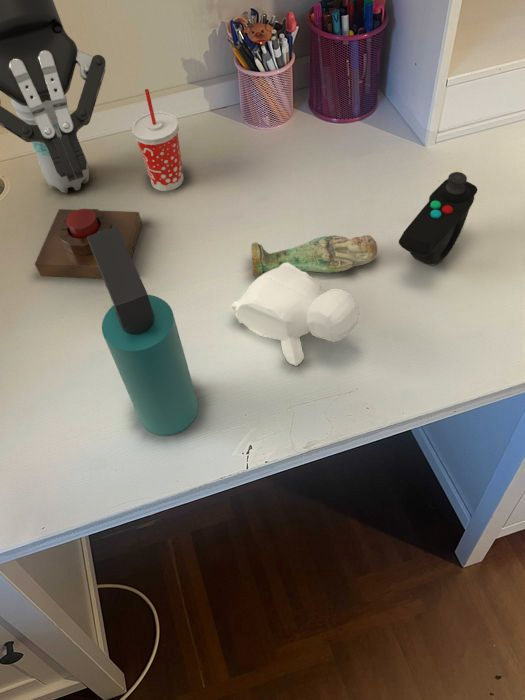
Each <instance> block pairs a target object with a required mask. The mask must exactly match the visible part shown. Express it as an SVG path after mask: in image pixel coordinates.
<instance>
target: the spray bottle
mask: <svg viewBox="0 0 525 700" xmlns="http://www.w3.org/2000/svg"><path fill="white" fill-rule="evenodd" d="M87 239H88V242H89V244H90V247H91V250H92V252H93V255H94V257H95V260H96V262H97V265H98V267H99V270H100V272H101V275H102V277H103V282H104V284H105V287H106V289H107V292H108V294H109V296H110V299H111V301H112V304H113V305H111V307H110V308H109V309H108V310H107V311H106V313H105V315H104V317H103V319H102V322H101V332H102V336H103V338H104V340H105V342H106V345H107V348H108V349H109V351H110V355H111V356H112V359H113V361H114V364H115V366H116V368H117V370H118V374H119V375H120V378H121V380H122V382H123V384H124V387H125V390H126V392H127V394H128V396H129V398H130V399H129V400H130V401H131V403H132V405H133V408H134V410H135V413H136V415H137V417H138V419H139V421H140V424H141V425H142V427H143V428H144V429H145V430H146V431H148V432H150V433H151V434H154V435H157V436H173V435H176V434H179V433H181V432H183V431H185V430H186V429H187V428H188V427H190V426H191V424H192V423H194V421H195V419H196V417H197V415H198V411H199V403H198V397H197V395H196V390H195V387H194V384H193V380H192V377H191V373H190V370H189V365H188V362H187V358H186V355H185V351H184V348H183V344H182V341H181V337H180V332H179V330H178V325H177V322H176V319H175V316H174V315H175V314H174V311H173V309H172V308H171V305H170V304H169V303H168V302H167V301H165V300H164V299H163V298H160V297H158V296H156V295H153V294H148V292H147V289H146V288H145V284H144V283H143V281H142V279H141V276H140V274H139V271H138V270H137V268H136V265H135V263H134V260H133V259H132V257H131V256H130V254H129V252H128V250H127V248H126V245H125V243H124V241H123V239H122V237H121V234H120V232H119V230H118V228H117V227H113V228H110V229H107V230H100V231H98V232H97V233H96V234H93V235H90V236H87Z"/></svg>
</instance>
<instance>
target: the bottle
mask: <svg viewBox="0 0 525 700" xmlns="http://www.w3.org/2000/svg"><path fill="white" fill-rule="evenodd" d="M64 96H65V99H66V102H67V103H68V99H67V95H66V94H65V95H64ZM10 103H11V105H12V107H13V108H14V109H15V113H16V116H17V117H18V118H20V119H21V120H23V121H24V122H26V123H28V124H29V125H37V124H36V122H35V119H34V117H33V115H32V113H31V111H30V109H29V107H28V106H23V105H21V104H19V103H17V102H16V101H14V100H13V99H12V98H10ZM43 106H44V108H45V110H46V112H47V114H48V116H49V119H50V121H51V123H52V125H53V127H54V129H55V132H56V134H57V137H60V139H61V136H62V135H61V132H60V129H59V124H58V120H57V117H56V114H55V111H54V108H53V104H52V101H51V100H49V101H44V102H43ZM61 141H62V140H61ZM30 143H31V145H32V147H33V149H34V152H35V154H36V158H37V161H38V163H39V167H40V170H41V173H42V175H43V177H44V179H45V181H46V183H47V185H48V186H49V187H50V188H51V189H52V190H59V192H60V193H63V194H67V193H68V192H69V188H73V189H74V190H75V191H79V190H81V187H82V184H83V185H85V184H87V183H88V181H89V180H90V168H89V163H88V160H87V157H86V155H85V153H84V150H83V148H82V147H81V149H82V151H83V154H84V156H85V159H86V163H87V169H86V170H83V171H82V173H83V176H84V177H83V178H80V179H76V180H74V181H70V182H69V181H68V178H67V176H64V177H61V176H60V175H59V174H58V173H57V171H56V169H55V166H54V164H53V161H52V159H51V156H50V154H49V151H48V148H47V146H46V145H45V144H44V143H42V142H30ZM62 144H63V143H62ZM63 147H64V146H63ZM64 149H65V148H64ZM65 152H66V151H65ZM66 154H67V153H66ZM67 157H68V156H67ZM68 159H69V158H68ZM69 162H70V161H69ZM71 167H72V166H71ZM72 170H73V169H72ZM73 172H74V171H73ZM74 175H75V174H74ZM75 177H76V176H75Z"/></svg>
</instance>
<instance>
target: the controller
mask: <svg viewBox="0 0 525 700" xmlns="http://www.w3.org/2000/svg"><path fill="white" fill-rule="evenodd" d="M467 180H468V177H467V175H466V174H465V173H463V172H461V171H454V172H451V173H450V174H449V175H448V177H447V178H446V179H445V180H444V181H443V182H442V183H441V184H440V185H438V186H437V188H436V189H435V190H433V191H432V192H431V194H430V195H429V198H428V201H427V203H426V204H425V205H424V207H423V208H422V209H420V212H419V213H418V214H417V215H416V216H415V217H414V219H413V220H412V221H411V223H409V225H408V226H407V227H406V228H405V230H404V231H403V232H402V234H401V235H400V238H399V239H398V245H399V246H400V247H401V248H402V249H404V250H406V251H407V252H409V253H410V255H411V256H412V258H413V259H415V260H416V261H418V262H420V263H422V264H425V265H427V266H437V265H438V264H440V263H441V262H442V261H443V260H445V259H446V257H447V256H448V255H449V253H450V252H451V250H452V249H453V247H454V246H455V244H456V243H457V241H458V238H459V236H460V235H461V232H462V231H463V228H464V225H465V223H466V220H467V217H468V214H469V212H470V210H471V207H472V205H473V203H474V202H475V201H474V200H475V196H476V194H477V193H478V187H477V186H476V185H475V184H473V183H472V182H470V181H467Z"/></svg>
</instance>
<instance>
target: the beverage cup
mask: <svg viewBox="0 0 525 700" xmlns="http://www.w3.org/2000/svg"><path fill="white" fill-rule="evenodd" d="M144 93H145V97H146V102H147V105H148V110H149V112H147V113H145V114H142V115H141V116H138V117H137V118H136V119H135V120H134V121H133V123H132V125H131V132H132V135H133V138H134V139H135V140H136V141H137V146H138V148H139V151H140V153H141V157H142V160H143V162H144V165H145V168H146V173H147V174H148V178H149V181H150V184H151V186H152V187H153V188H154V189H155V190H157V191H160V192H169V191H173V190H175V189H177V188H179V187H180V186H181V185H182V184H183V182H184V178H185V177H184V171H183V170H184V169H183V163H182V154H181V147H180V140H179V133H178V132H179V129H180V127H179V122H178V117H176V116H175V115H174V114H173V113H171V112H167V111H154V107H153V103H152V98H151V93H150V90H149V89H148V88H145V89H144Z"/></svg>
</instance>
